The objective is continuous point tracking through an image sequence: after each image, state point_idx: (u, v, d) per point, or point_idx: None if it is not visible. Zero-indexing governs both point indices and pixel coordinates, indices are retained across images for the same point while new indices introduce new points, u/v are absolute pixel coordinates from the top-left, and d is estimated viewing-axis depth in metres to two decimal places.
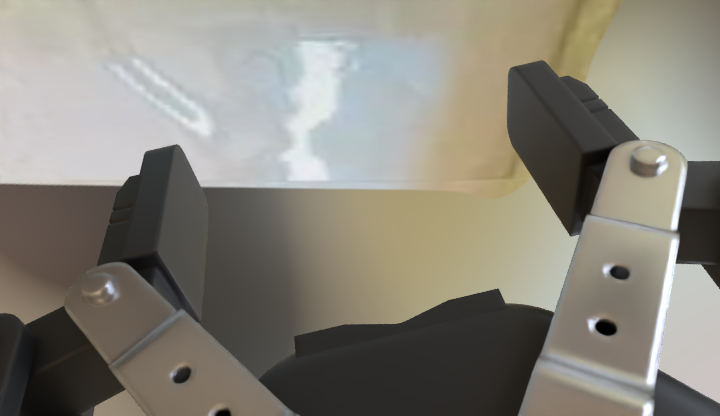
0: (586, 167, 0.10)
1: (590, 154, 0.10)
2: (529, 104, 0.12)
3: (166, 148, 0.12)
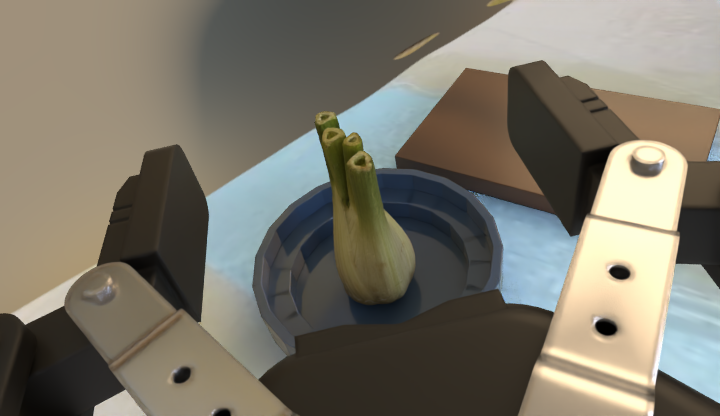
0: (586, 167, 0.10)
1: (590, 154, 0.10)
2: (529, 104, 0.12)
3: (166, 148, 0.12)
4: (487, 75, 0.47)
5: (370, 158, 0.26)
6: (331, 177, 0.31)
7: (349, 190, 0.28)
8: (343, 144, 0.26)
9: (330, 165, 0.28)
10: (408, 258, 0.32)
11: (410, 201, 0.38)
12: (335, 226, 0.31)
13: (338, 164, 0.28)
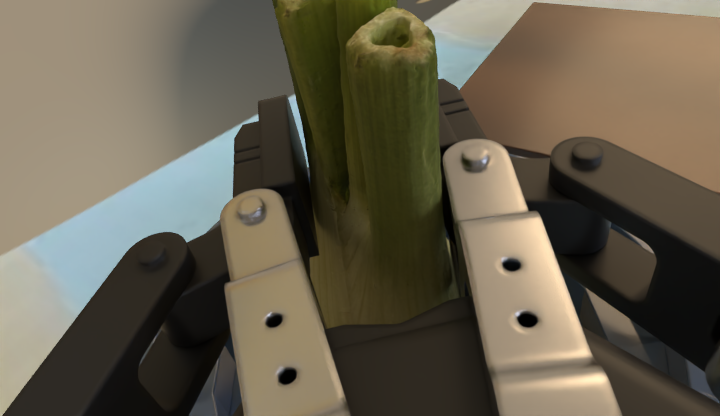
0: None
1: None
2: None
3: (278, 97, 0.13)
4: (571, 10, 0.29)
5: None
6: (308, 131, 0.13)
7: (350, 153, 0.10)
8: None
9: (301, 80, 0.10)
10: None
11: None
12: None
13: (323, 78, 0.10)
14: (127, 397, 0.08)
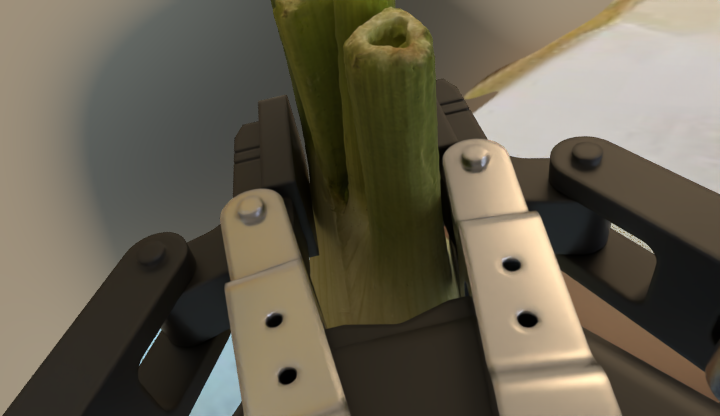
0: None
1: None
2: None
3: (278, 97, 0.13)
4: None
5: None
6: (307, 131, 0.13)
7: (349, 153, 0.10)
8: None
9: (299, 80, 0.10)
10: None
11: None
12: None
13: (321, 78, 0.10)
14: (127, 397, 0.08)
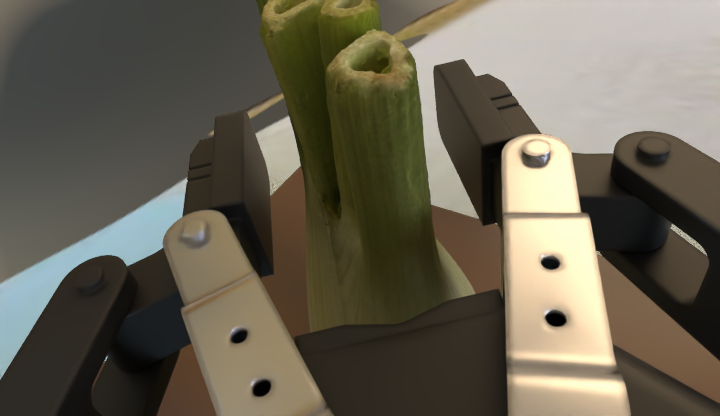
0: (487, 159, 0.11)
1: (490, 147, 0.10)
2: (448, 101, 0.12)
3: (235, 112, 0.13)
4: None
5: (407, 51, 0.08)
6: (300, 144, 0.13)
7: (340, 170, 0.10)
8: (320, 16, 0.08)
9: (288, 98, 0.10)
10: None
11: None
12: (309, 262, 0.13)
13: (310, 96, 0.10)
14: None
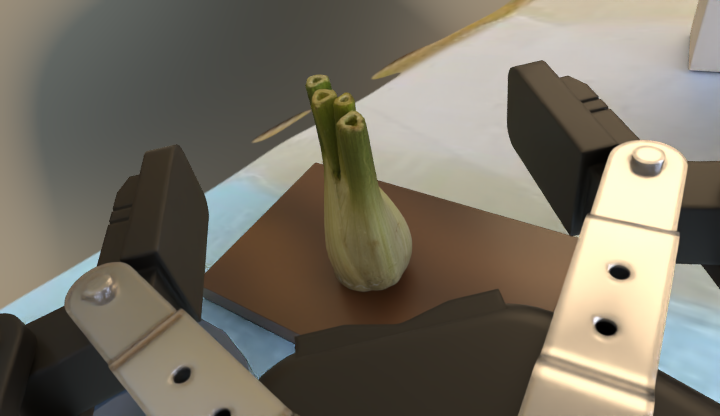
0: (586, 167, 0.10)
1: (590, 154, 0.10)
2: (529, 104, 0.12)
3: (166, 148, 0.12)
4: None
5: (362, 118, 0.23)
6: (323, 148, 0.28)
7: (340, 159, 0.26)
8: (334, 104, 0.24)
9: (320, 130, 0.26)
10: (403, 240, 0.29)
11: None
12: (325, 202, 0.29)
13: (329, 129, 0.26)
14: None
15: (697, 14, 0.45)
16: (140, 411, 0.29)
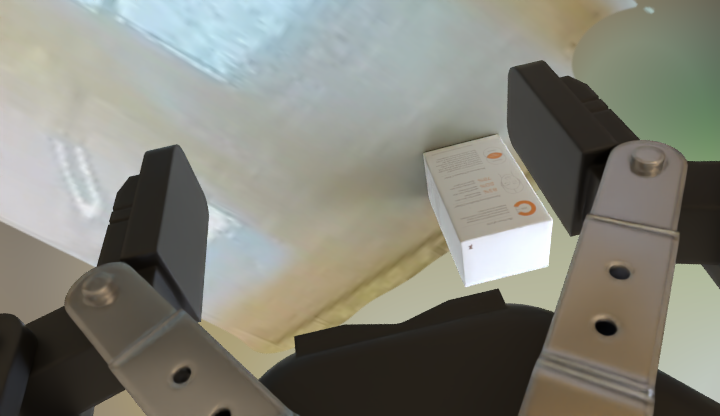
0: (586, 167, 0.10)
1: (590, 154, 0.10)
2: (529, 104, 0.12)
3: (166, 148, 0.12)
4: None
5: None
6: None
7: None
8: None
9: None
10: None
11: None
12: None
13: None
14: None
15: None
16: None
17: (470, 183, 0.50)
